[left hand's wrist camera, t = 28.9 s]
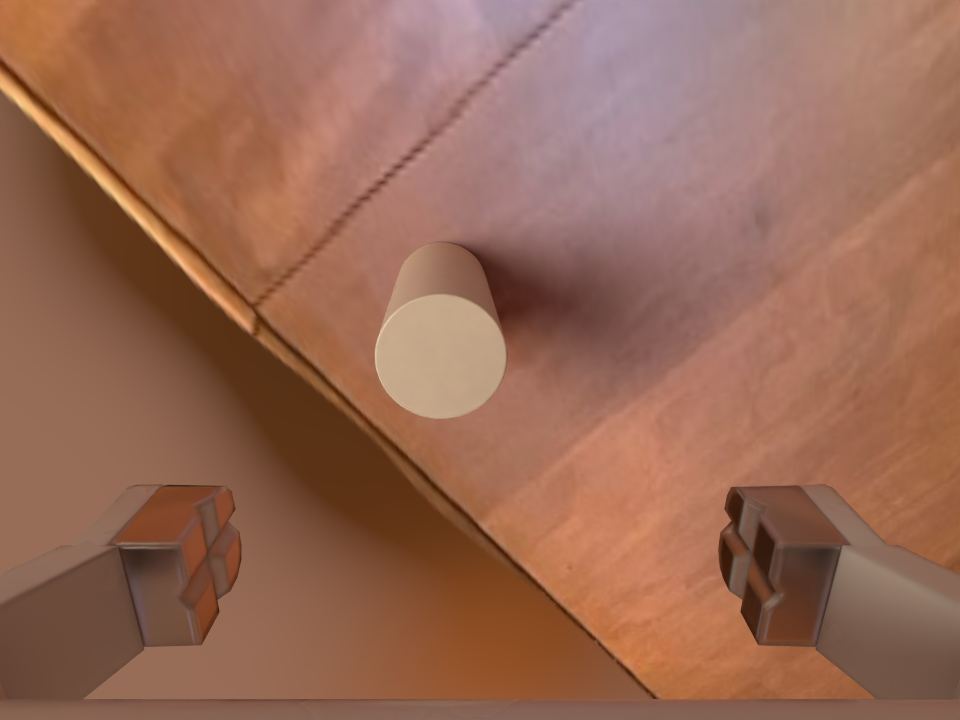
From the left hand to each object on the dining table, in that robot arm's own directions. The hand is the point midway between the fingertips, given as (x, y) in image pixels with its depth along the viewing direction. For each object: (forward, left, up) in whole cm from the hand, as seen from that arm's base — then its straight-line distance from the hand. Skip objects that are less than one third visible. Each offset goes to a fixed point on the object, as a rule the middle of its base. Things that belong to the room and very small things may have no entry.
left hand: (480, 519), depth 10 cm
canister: (-1, 0, -19) cm, 19 cm away
